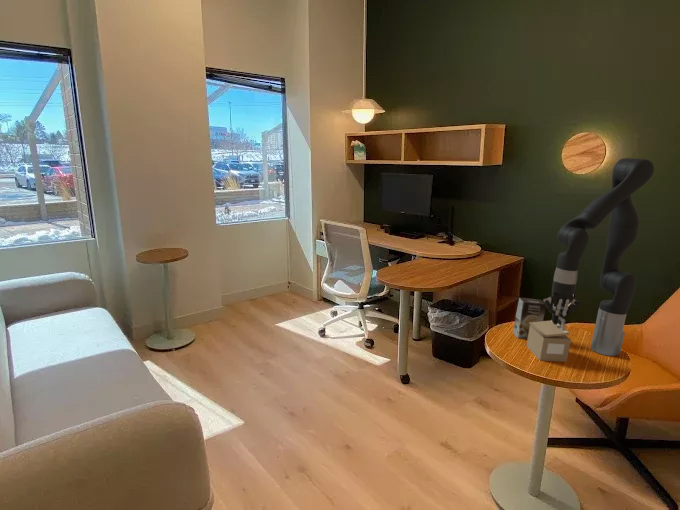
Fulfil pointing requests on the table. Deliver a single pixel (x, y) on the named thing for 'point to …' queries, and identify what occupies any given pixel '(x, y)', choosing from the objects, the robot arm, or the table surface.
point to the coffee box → (527, 315)
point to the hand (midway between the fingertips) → (557, 323)
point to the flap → (550, 328)
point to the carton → (548, 346)
